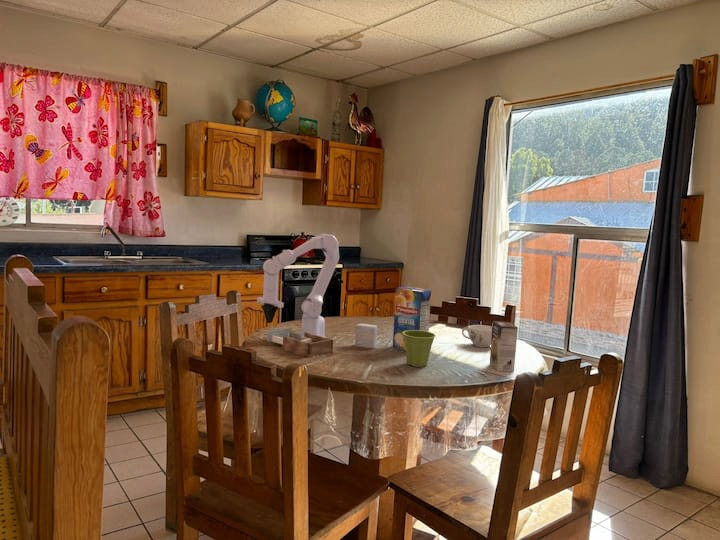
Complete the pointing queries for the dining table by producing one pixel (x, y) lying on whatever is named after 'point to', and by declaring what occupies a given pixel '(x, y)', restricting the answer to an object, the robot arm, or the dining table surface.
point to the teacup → (479, 335)
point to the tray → (278, 335)
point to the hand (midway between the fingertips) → (269, 322)
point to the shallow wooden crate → (308, 345)
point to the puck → (296, 335)
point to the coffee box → (503, 346)
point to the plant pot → (418, 347)
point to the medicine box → (366, 336)
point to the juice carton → (410, 313)
